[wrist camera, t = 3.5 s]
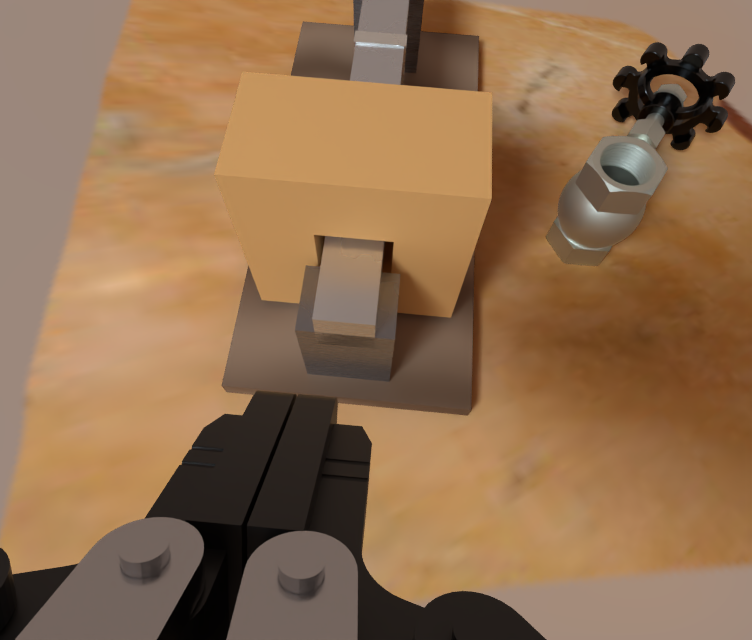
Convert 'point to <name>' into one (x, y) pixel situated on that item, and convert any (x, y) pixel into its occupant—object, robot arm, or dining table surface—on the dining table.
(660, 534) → the dining table surface
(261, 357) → the board
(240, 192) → the collar
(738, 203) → the dining table surface
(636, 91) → the valve
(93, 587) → the robot arm
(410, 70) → the rectangular bar
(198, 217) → the dining table surface
